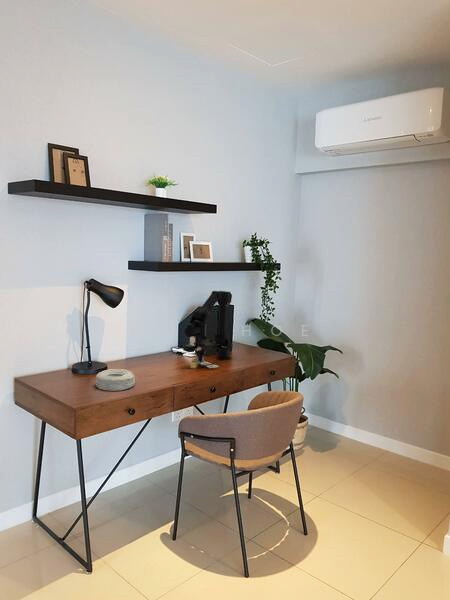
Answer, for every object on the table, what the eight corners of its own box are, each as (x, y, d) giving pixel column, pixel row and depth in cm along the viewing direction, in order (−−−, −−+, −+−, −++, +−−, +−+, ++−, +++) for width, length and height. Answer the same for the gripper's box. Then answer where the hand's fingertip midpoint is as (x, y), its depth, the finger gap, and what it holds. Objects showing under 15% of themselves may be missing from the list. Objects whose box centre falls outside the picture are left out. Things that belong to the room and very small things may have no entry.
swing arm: (197, 360, 273) (198, 354, 273) (204, 360, 272) (204, 354, 272) (189, 367, 255) (189, 361, 255) (196, 368, 254) (196, 361, 254)
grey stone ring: (120, 378, 231) (121, 366, 231) (142, 387, 220) (143, 374, 219) (88, 385, 219) (88, 372, 218) (109, 394, 207) (109, 380, 206)
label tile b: (214, 365, 265) (214, 364, 265) (218, 366, 262) (219, 366, 262) (205, 366, 261) (205, 365, 261) (209, 368, 258) (209, 367, 258)
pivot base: (201, 360, 275) (201, 359, 275) (207, 362, 270) (207, 361, 270) (192, 361, 272) (192, 360, 272) (198, 363, 267) (198, 363, 267)
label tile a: (207, 362, 270) (207, 361, 270) (211, 364, 267) (211, 363, 267) (198, 363, 267) (198, 362, 267) (202, 365, 264) (202, 364, 264)
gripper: (193, 338, 247) (193, 368, 249) (223, 334, 258) (222, 362, 260) (182, 334, 255) (182, 363, 258) (211, 330, 266) (211, 357, 269)
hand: (200, 361), depth 261 cm, fingers closed
